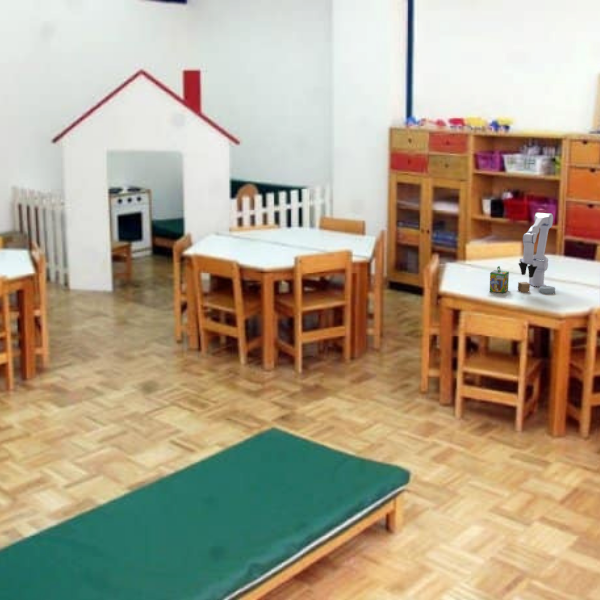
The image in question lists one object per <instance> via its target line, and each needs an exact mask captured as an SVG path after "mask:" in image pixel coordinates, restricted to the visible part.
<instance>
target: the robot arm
mask: <svg viewBox="0 0 600 600" xmlns="http://www.w3.org/2000/svg"><path fill="white" fill-rule="evenodd" d="M553 223H554V216H553V214H552V213H544V212H538V211H537V212H535V214H534V223H533V225H531V226H530V228H529V229H528V230H527V232H526V233H524V234H523V235H522V245H523V254H522V257H523V258H519V262H518V266H519V269H520V273H521V275H522V276H526V273H527V270H528V280H529V281H528V283H529V284H530V286H533V287H534V286H535V287H536V286H537V287H540V286H547V284H545V272H546V271H548V268H549V259H548V257H547V256H545V252H546V246H547V242H548V236H549V234H548V233H549V230H550V228H552V227H553ZM538 234H539V236H538ZM537 236H538V237H537ZM537 238H538V242H537ZM536 242H537V245H536V246H537V247H536V253H534V252H535V243H536ZM534 254H535V255H534Z"/></svg>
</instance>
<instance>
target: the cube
mask: <svg viewBox="0 0 600 600" xmlns="http://www.w3.org/2000/svg"><path fill="white" fill-rule="evenodd" d="M530 287H531V285H530V284H529V282H527V281H519V282H517V291H518V290H519V291H518V292H520V291H521V293H529V292H530V290H531V289H530ZM528 291H529V292H528Z"/></svg>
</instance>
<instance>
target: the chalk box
mask: <svg viewBox="0 0 600 600" xmlns="http://www.w3.org/2000/svg"><path fill="white" fill-rule="evenodd" d="M496 268H497V270H493V271H491V272H490V273H489V292H491V293H502V294H504V293H506V292H508V291H509V277H510V276H509V275H510V272H509V271H506V270H501V266H500V265H498V266H497V267H496Z"/></svg>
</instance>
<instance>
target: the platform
mask: <svg viewBox="0 0 600 600" xmlns="http://www.w3.org/2000/svg"><path fill="white" fill-rule="evenodd" d="M538 287H539V289H538V292H539V293H540V294H542V293H544V295H554V294H555V293H556V287H555V286H551V285H546V286H538ZM553 293H554V294H553Z"/></svg>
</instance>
